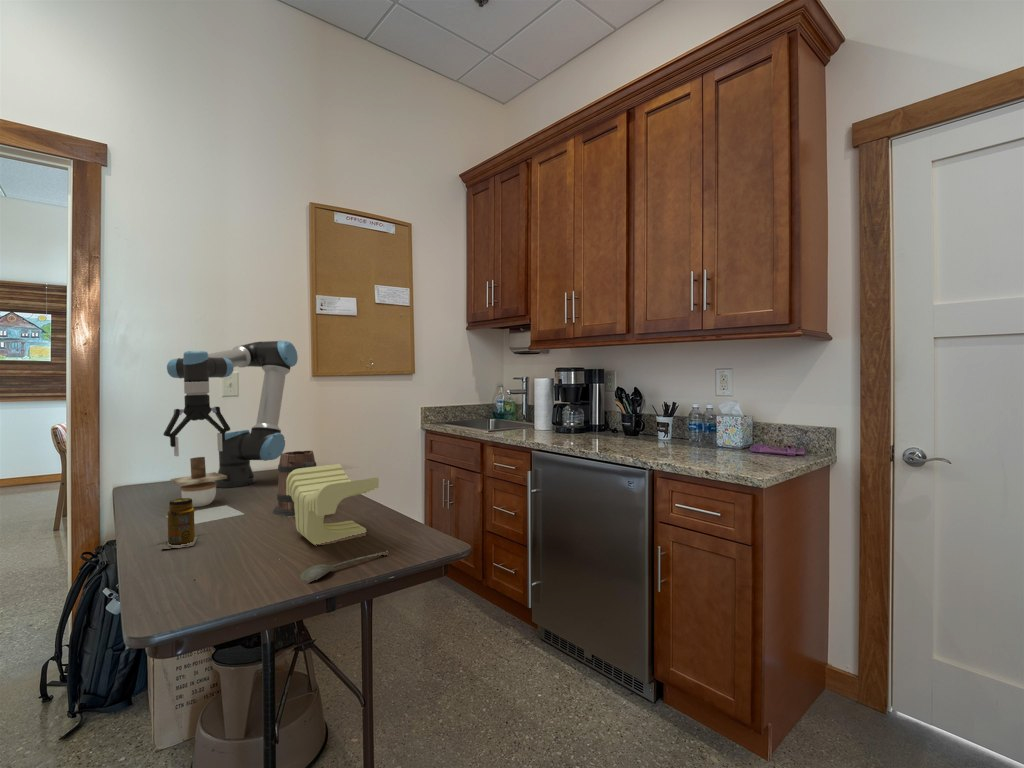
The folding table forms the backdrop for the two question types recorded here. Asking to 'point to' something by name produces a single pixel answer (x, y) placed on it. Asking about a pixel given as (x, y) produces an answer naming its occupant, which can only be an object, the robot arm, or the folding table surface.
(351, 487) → the slatted curved stool
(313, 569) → the soupspoon
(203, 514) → the mat
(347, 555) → the folding table surface
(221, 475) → the lid
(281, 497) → the tankard
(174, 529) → the condiment
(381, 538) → the folding table surface
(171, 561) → the folding table surface
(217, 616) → the folding table surface
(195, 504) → the lidded jar
